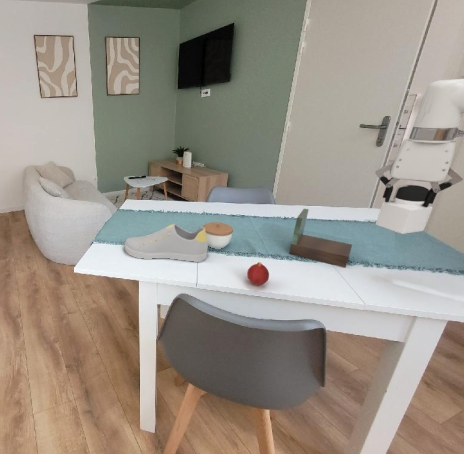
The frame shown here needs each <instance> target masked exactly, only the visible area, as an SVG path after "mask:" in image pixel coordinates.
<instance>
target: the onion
mask: <svg viewBox="0 0 464 454" xmlns="http://www.w3.org/2000/svg"><path fill="white" fill-rule="evenodd" d="M246 277H247V279H248V281H250V283H251V284H252V285H254V286H257V287H258V286H261V285H265V284H266V283H267V282H268V281H269V279H270V272H269V269H268V268H267V266H265V265H264V264H263V263H262V262H261V261H260V262H257V263H254V264H252V265H251V266H250V267H249V268H248V270H247V272H246Z"/></svg>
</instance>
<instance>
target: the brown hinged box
mask: <svg viewBox="0 0 464 454" xmlns="http://www.w3.org/2000/svg"><path fill="white" fill-rule="evenodd" d="M308 215H309V208H303V209H302V211H301V212H300V213H299V214H298V215H297V217H296V221H295V225H294V229H293V234H292V239H291V243H290V248H289V252H288V255H293V256H296V257H300V258H305V259H309V260H313V261H317V262H321V263H325V264H329V265H332V266H337V267H341V268H346V267H347V264H348V261H349V258H350V255H351V250H352V247H353V244H352V243H351V244H350V243H347V242H340V241H336V240H331V239H328V238H327V239H326V238H323V237H317V236H313V235H307V234H304V230H305V226H306V222H307V218H308Z"/></svg>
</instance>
